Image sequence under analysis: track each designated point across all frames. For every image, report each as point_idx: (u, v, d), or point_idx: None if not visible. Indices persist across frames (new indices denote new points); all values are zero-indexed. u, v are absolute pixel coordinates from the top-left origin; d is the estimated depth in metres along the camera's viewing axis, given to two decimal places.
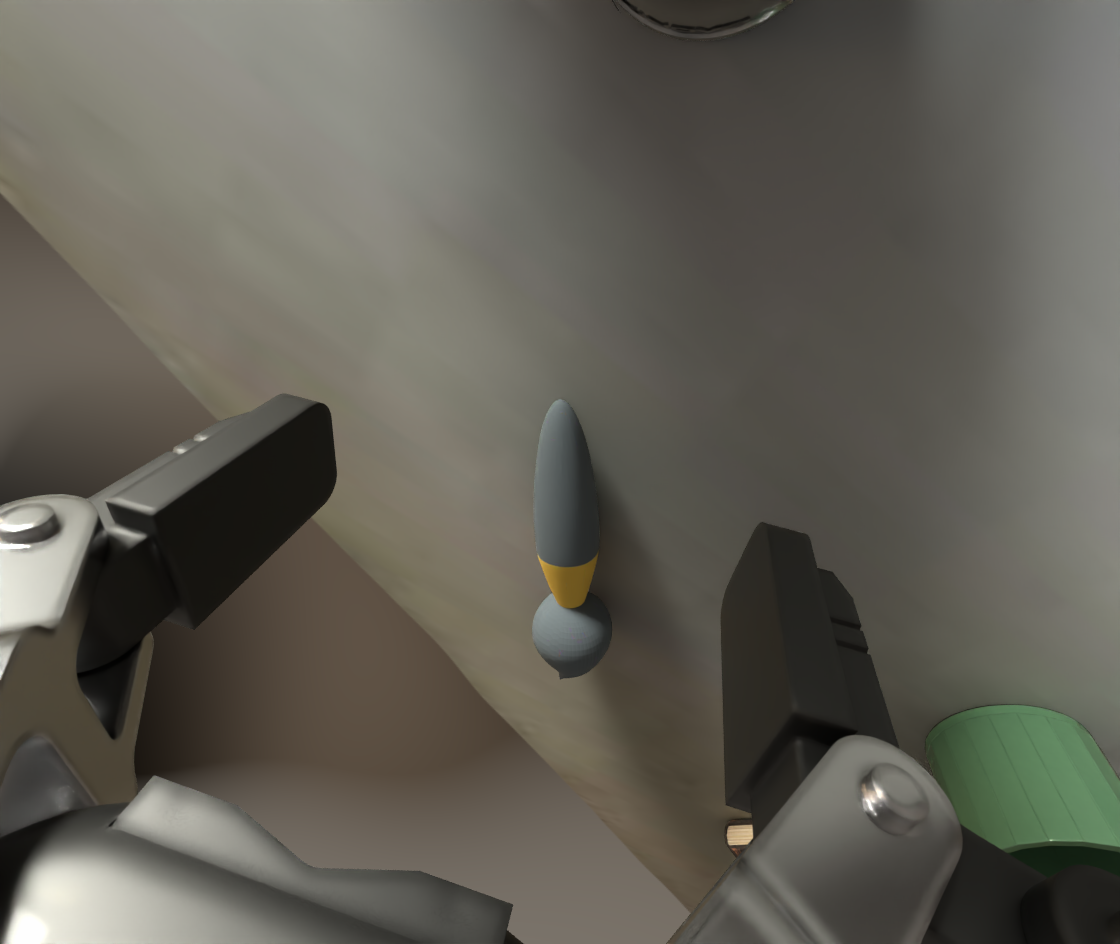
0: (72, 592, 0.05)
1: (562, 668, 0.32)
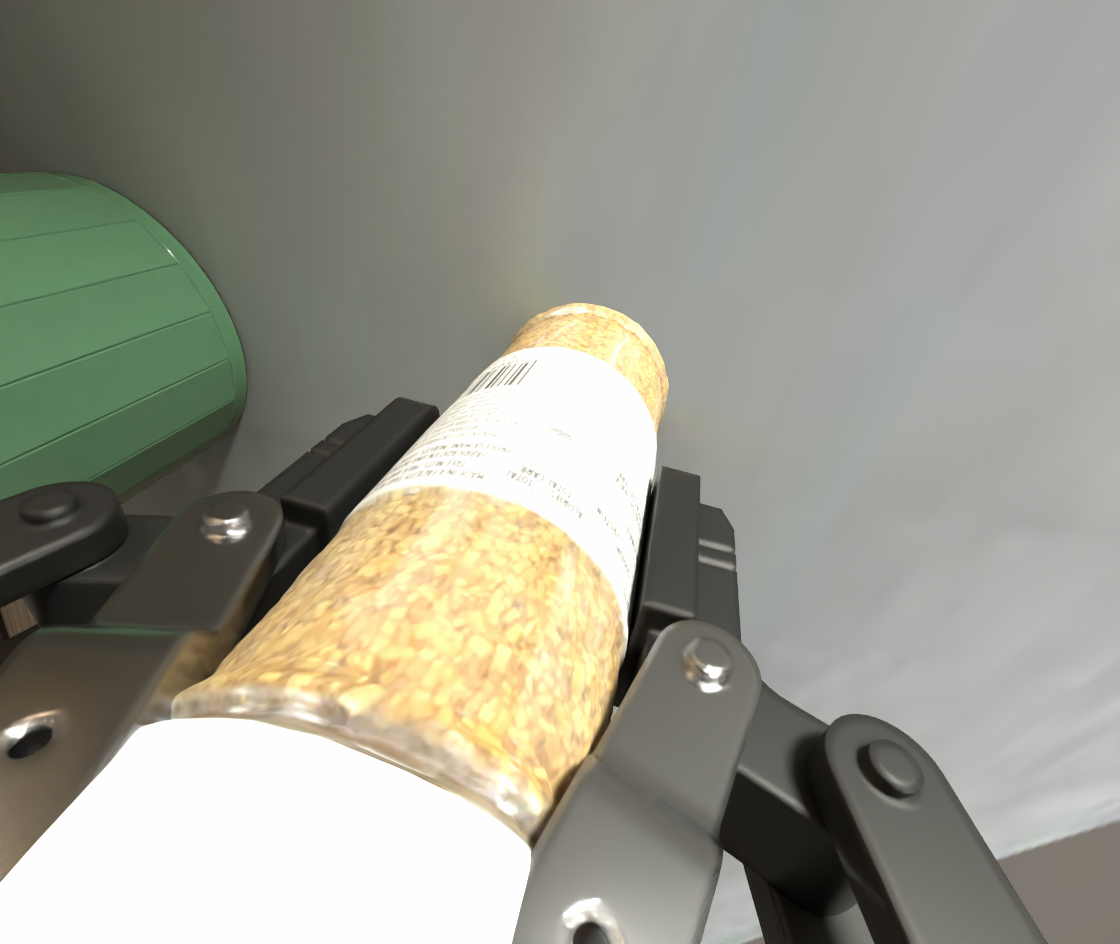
0: (242, 595, 0.06)
1: None
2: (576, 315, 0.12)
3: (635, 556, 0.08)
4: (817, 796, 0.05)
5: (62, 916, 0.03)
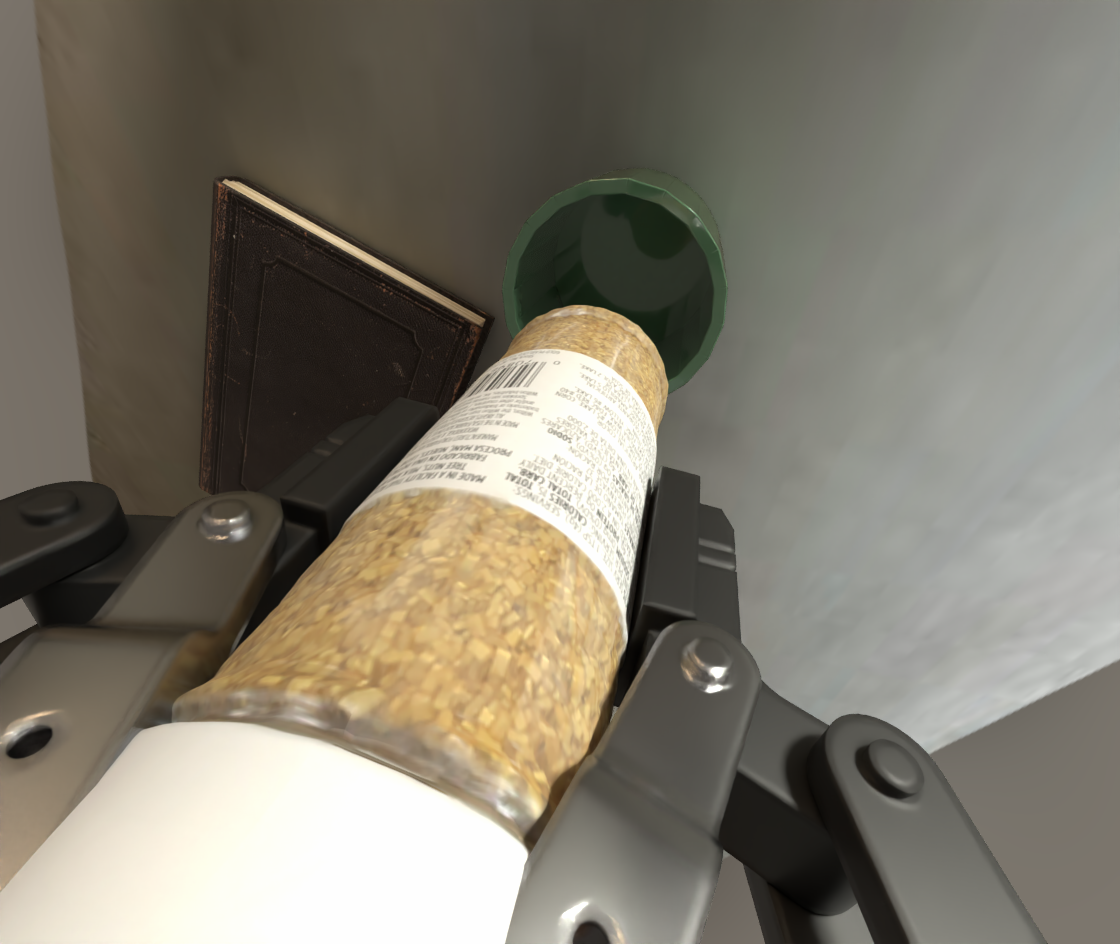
0: (242, 595, 0.06)
1: None
2: (576, 316, 0.12)
3: (635, 558, 0.08)
4: (817, 796, 0.05)
5: (64, 920, 0.03)
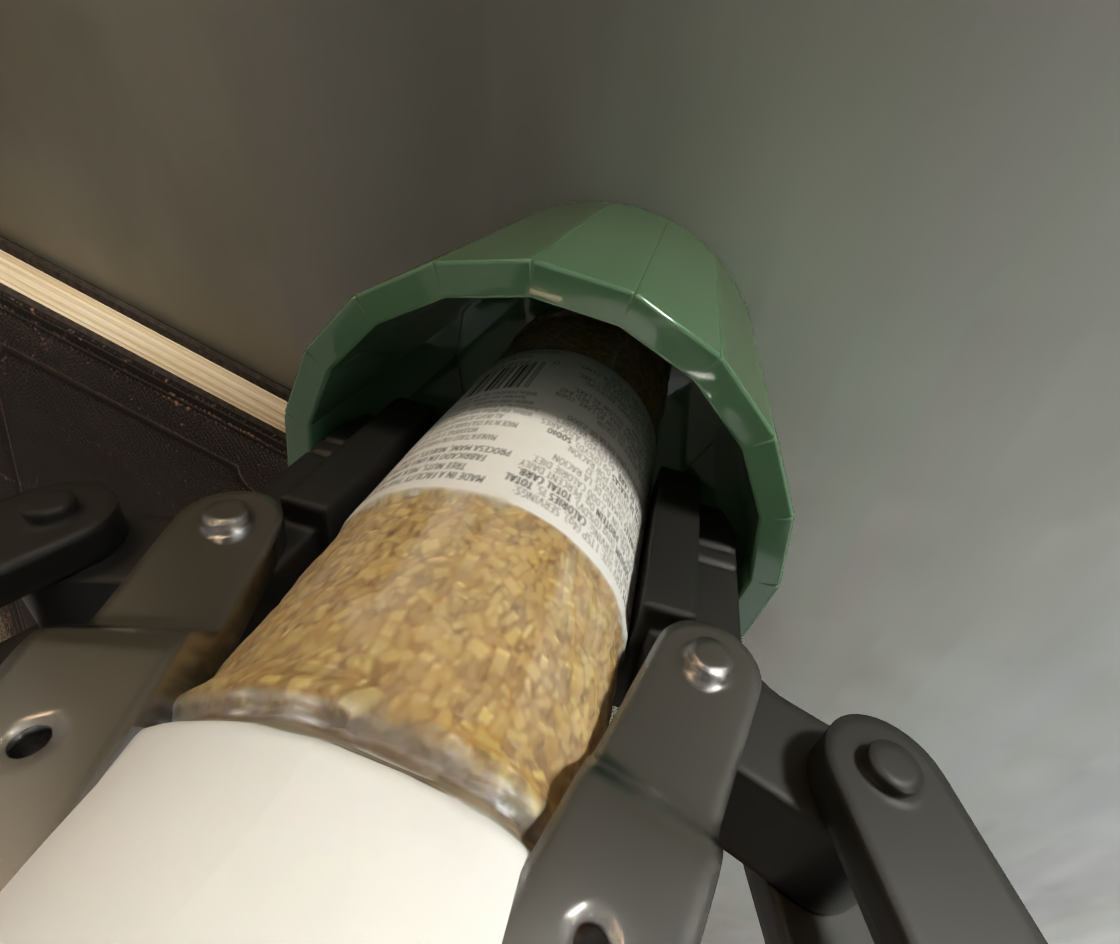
0: (242, 595, 0.06)
1: None
2: (576, 317, 0.13)
3: (634, 558, 0.08)
4: (818, 796, 0.05)
5: (64, 918, 0.03)
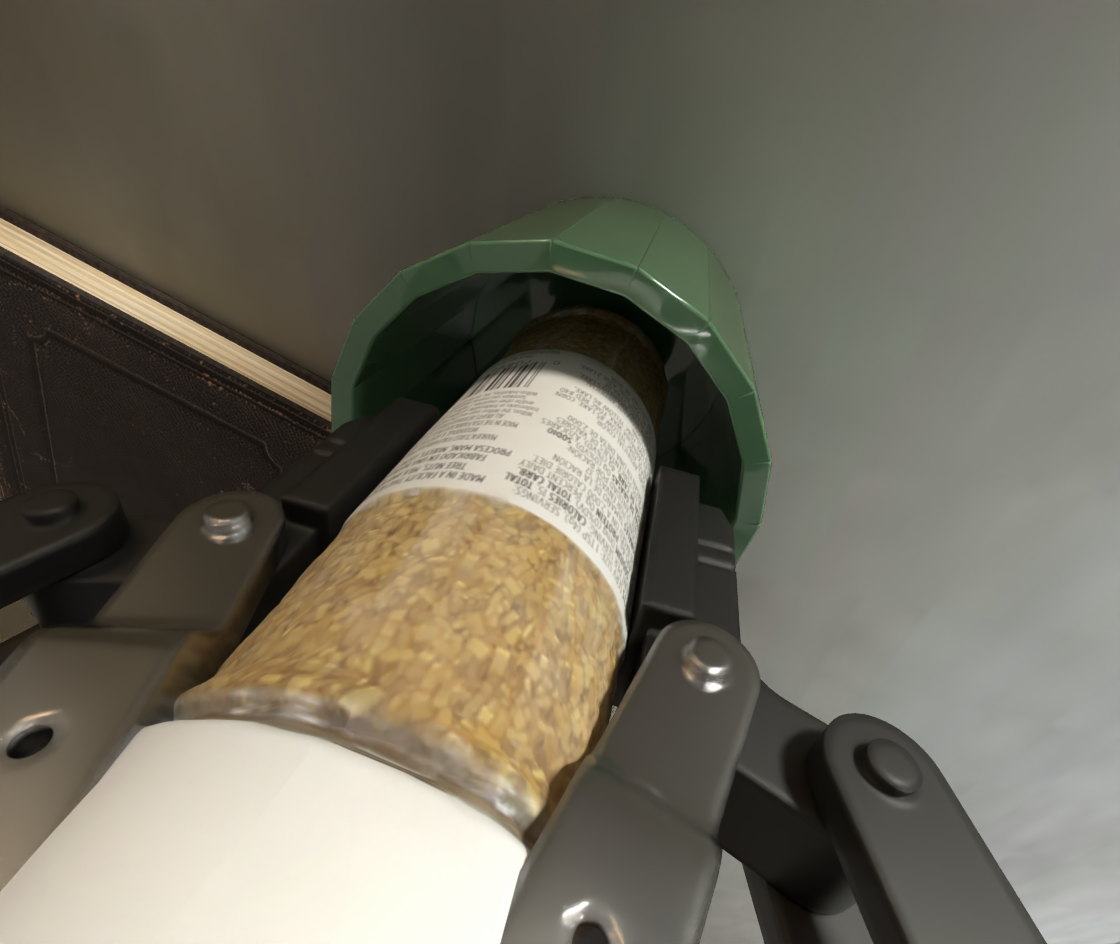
0: (243, 595, 0.06)
1: None
2: (576, 317, 0.13)
3: (634, 558, 0.08)
4: (816, 796, 0.05)
5: (65, 915, 0.03)
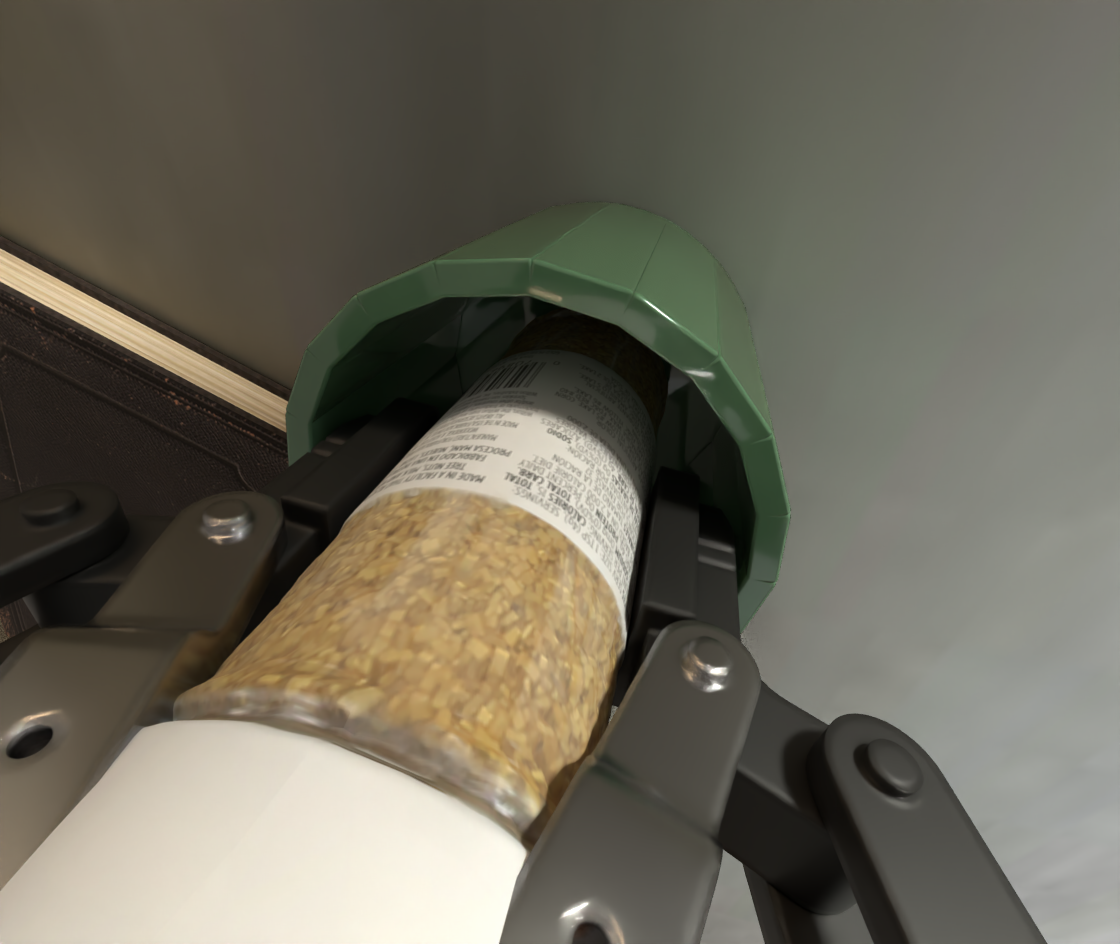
0: (242, 595, 0.06)
1: None
2: (577, 317, 0.13)
3: (634, 558, 0.08)
4: (817, 796, 0.05)
5: (64, 916, 0.03)
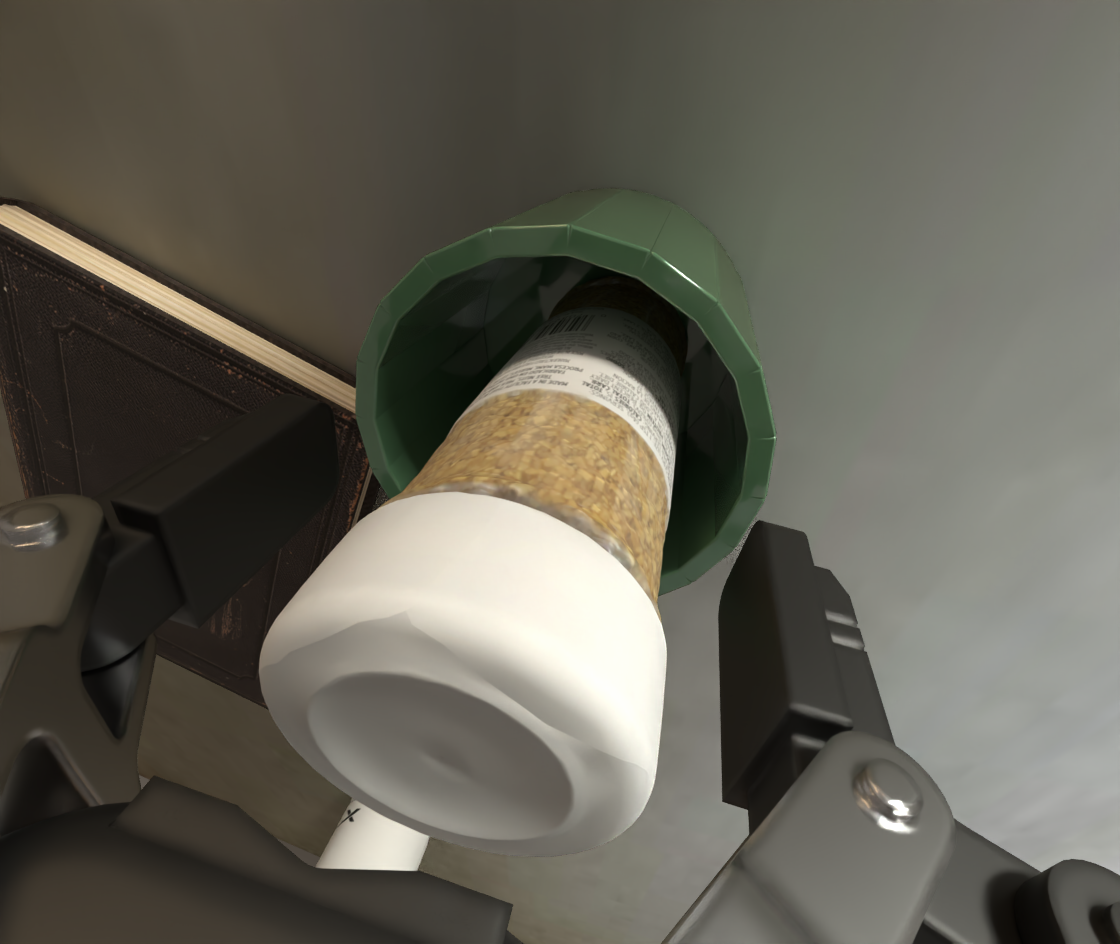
0: (77, 591, 0.05)
1: None
2: (611, 285, 0.15)
3: (672, 458, 0.10)
4: None
5: (395, 557, 0.05)
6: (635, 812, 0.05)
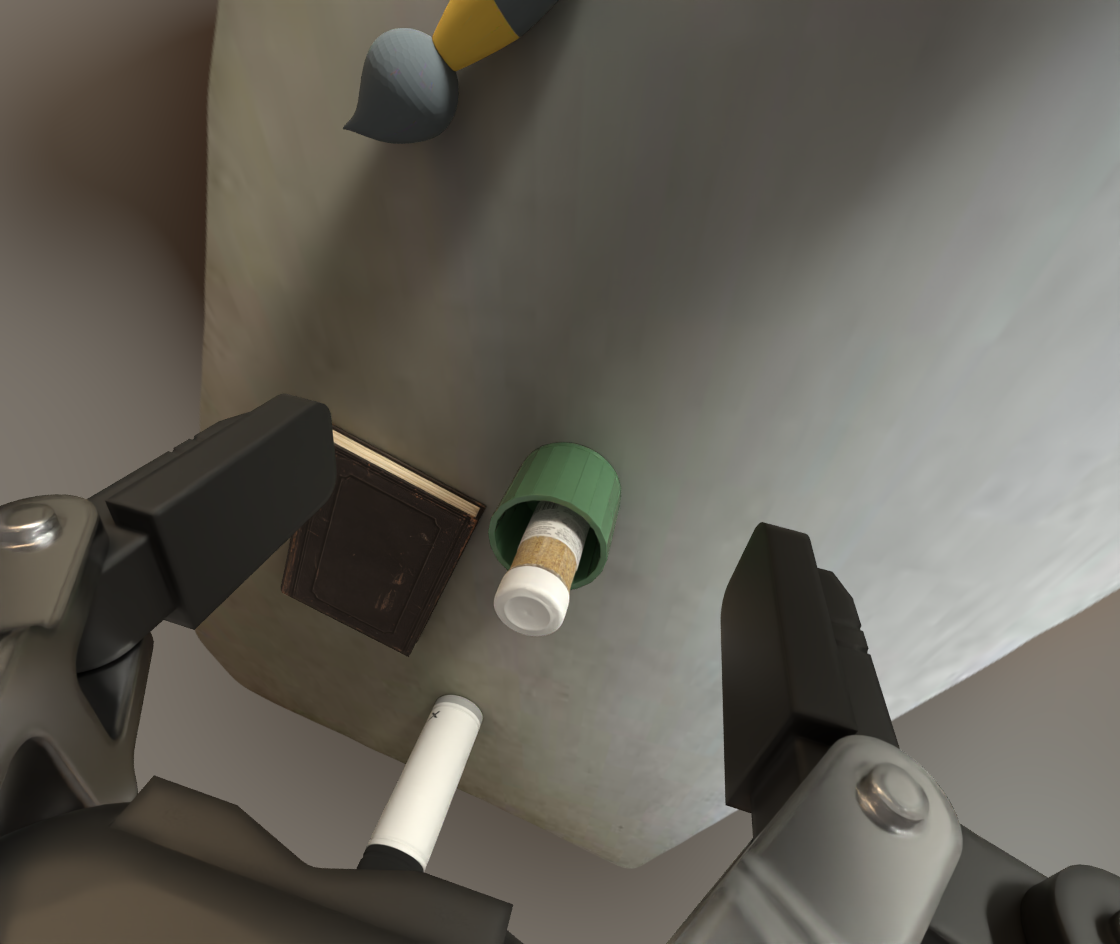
0: (72, 592, 0.05)
1: (377, 94, 0.28)
2: None
3: (580, 548, 0.37)
4: None
5: (522, 578, 0.32)
6: (560, 620, 0.32)
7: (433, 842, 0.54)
